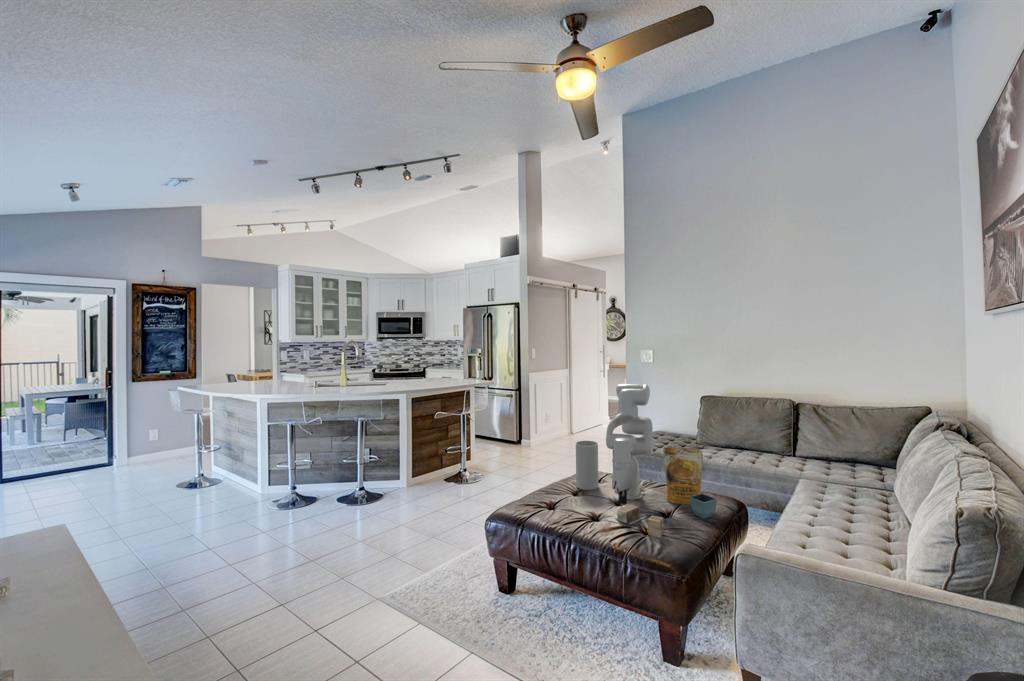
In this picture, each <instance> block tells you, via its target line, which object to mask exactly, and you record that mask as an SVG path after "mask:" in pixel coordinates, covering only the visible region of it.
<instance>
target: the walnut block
mask: <svg viewBox="0 0 1024 681" xmlns="http://www.w3.org/2000/svg"><path fill="white" fill-rule="evenodd" d="M616 511H617V515H616V516H617V517H616V518H617V519H618V520H617V519H616V520H617V521H620V522H622V523H625V524H627V523H628V522H630V521H632V520H634V519H636V518H639V514H640V506H638V505H634V504H633V503H632V504H631V503H629V504H626V505H625V506H622V507H620V508H617V510H616Z"/></svg>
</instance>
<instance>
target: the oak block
mask: <svg viewBox="0 0 1024 681" xmlns="http://www.w3.org/2000/svg"><path fill="white" fill-rule="evenodd" d="M647 527H648V531H647V532H648V533H647V534H648V536H651V537H656V538H661V537H662V536H664V517H661V516H656V515H651V516H650V517H649V518H648V519H647Z"/></svg>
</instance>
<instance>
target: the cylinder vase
mask: <svg viewBox="0 0 1024 681" xmlns="http://www.w3.org/2000/svg"><path fill="white" fill-rule="evenodd" d="M575 481H576V482H575V483H576V484H575V486H576V487H577V489H579V490H583V491H593V490H597V489H598V488H599V487H600V486H599V483H600V482H599V443H598V441H594V440H580V441H579V440H578V441H576V442H575Z"/></svg>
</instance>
